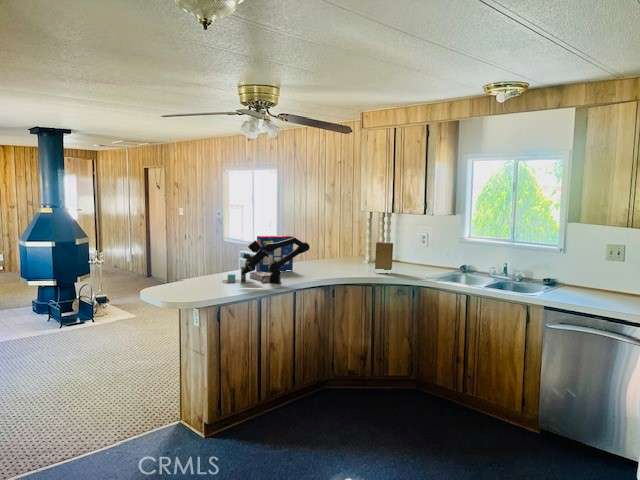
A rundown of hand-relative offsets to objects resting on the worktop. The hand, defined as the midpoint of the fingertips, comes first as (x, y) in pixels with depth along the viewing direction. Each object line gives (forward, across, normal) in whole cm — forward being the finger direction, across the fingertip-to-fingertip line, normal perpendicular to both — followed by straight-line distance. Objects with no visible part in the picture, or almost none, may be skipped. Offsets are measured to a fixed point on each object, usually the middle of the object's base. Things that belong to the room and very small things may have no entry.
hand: (241, 273), depth 324 cm
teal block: (+8, 0, -1) cm, 9 cm away
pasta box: (-16, -50, +25) cm, 58 cm away
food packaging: (-78, -42, +88) cm, 125 cm away
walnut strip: (+7, 0, +2) cm, 7 cm away
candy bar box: (-5, -18, +11) cm, 21 cm away
